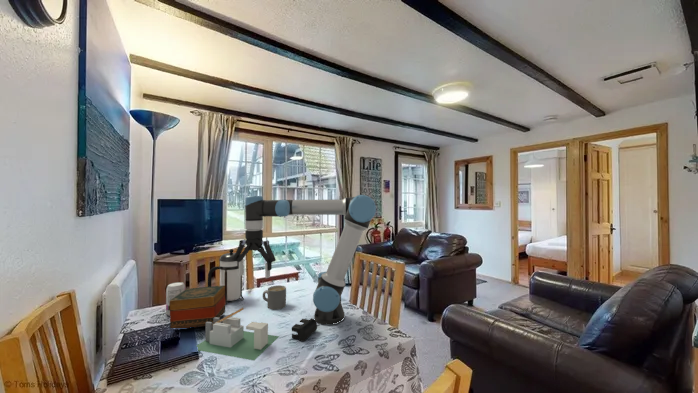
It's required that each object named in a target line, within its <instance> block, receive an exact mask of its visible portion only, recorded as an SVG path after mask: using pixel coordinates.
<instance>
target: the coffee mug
mask: <svg viewBox="0 0 698 393" xmlns="http://www.w3.org/2000/svg"><path fill="white" fill-rule="evenodd" d="M266 294H267V297H266ZM262 299H263V301H264V302H267V309H268V310H273V311H275V310H282V309H284V308H286V307H287V287H286V286H285V285H280V284H279V285H272V286H269V287H268V288H267V289H266V290H264V291H263V292H262Z"/></svg>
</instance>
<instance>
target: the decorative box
mask: <svg viewBox="0 0 698 393" xmlns="http://www.w3.org/2000/svg"><path fill="white" fill-rule="evenodd" d="M169 308H170V316H169V328H190V327H194V329H196V328H201V327H206V322H212V323H213V318H215V317H218V318H220V319H221V317H222V316H224V315H225V312H226V305H225V286H220V285H215V286H214V285H213V286H212V285H211V287H208V286H205V287H204V286H203V287H193V288H185V290H184V291H183V292H181V293H180V294H178V295H177V296H176V297H174V298H173V299H171V300H170V304H169ZM190 329H191V328H190Z"/></svg>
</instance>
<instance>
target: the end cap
mask: <svg viewBox="0 0 698 393" xmlns="http://www.w3.org/2000/svg"><path fill="white" fill-rule="evenodd" d="M299 322H300V323H302V324H299V323H295V324H294V325H292V327H291V332H293V333H292V334H291V338H292V339H295V340H299V342H302V343H303V342H305V341H306V340H307V339H308V338H309V337H310V336H312V335H313V334H314V333H315V332H317V329H318V323H317V322H316V321H315V320H314V318H310V319H306V318H302V319H300V320H299ZM294 332H295V333H296V334H295V333H294Z"/></svg>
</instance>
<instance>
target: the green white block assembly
mask: <svg viewBox="0 0 698 393" xmlns="http://www.w3.org/2000/svg"><path fill="white" fill-rule="evenodd" d="M219 320H221V317H220V318H218V317H215V318H213V323H214V322H216V323H215V324H213V327H212V322H206V326H205V339H204V340H203V341H201V342H200V343H198V344H197V345H196V346H197V347H198V351H199V352H198V353H200V352H206V353H211V354H216V355H223V356H227V357H232V358H239V359H244V360H249V361H255V360H256V359H257V358H259V357H260V356H261V355H262V354H263V353H264V352H265V351H266V350H267V349H269V347H270V346H271V345H272V344H273V343H274V342H275V341H277V340H278V338H279V337H280V335H279V336H278V335H273V334H268V343H267V344H266V345H265V346H264V347H263V348H262V349H261V350H259V349H254V331H246V330H244V328H245V327H244V325H241V318H240V317H233V316H231V317H229V318H227V319H225V320H223V321H222V322H220V323H217V321H219Z"/></svg>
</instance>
